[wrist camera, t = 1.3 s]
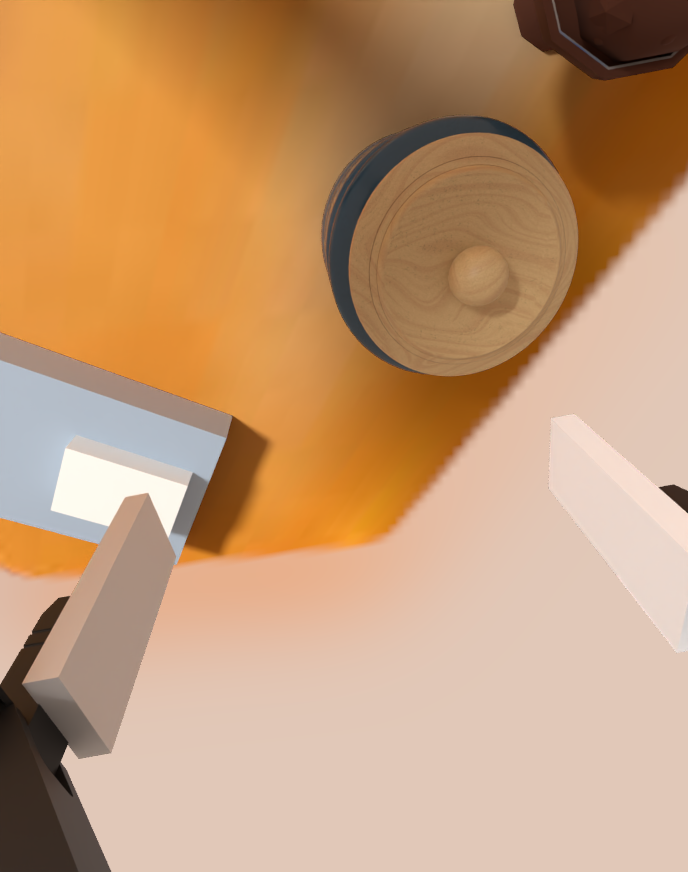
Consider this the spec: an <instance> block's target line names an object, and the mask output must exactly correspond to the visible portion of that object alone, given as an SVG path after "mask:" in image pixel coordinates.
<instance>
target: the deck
mask: <svg viewBox="0 0 688 872" xmlns="http://www.w3.org/2000/svg"><path fill="white" fill-rule="evenodd" d="M231 420H232V416H231V415H229V414H226V413H223V412H220V411H218V410H215V409H212V408H209V407H206V406H204V405H201V404H198V403H195V402H192V401H190V400H187V399H184V398H181V397H178V396H176V395H173V394H170V393H167V392H165V391H162V390H159V389H156V388H153V387H151V386H148V385H145V384H142V383H139V382H137V381H134V380H131V379H128V378H125V377H123V376H120V375H117V374H114V373H112V372H109V371H106V370H103V369H100V368H98V367H95V366H92V365H89V364H86V363H84V362H81V361H78V360H75V359H72V358H70V357H67V356H64V355H61V354H59V353H56V352H53V351H50V350H47V349H45V348H42V347H39V346H36V345H33V344H31V343H28V342H25V341H22V340H19V339H17V338H14V337H11V336H8V335H5V334H3V333H0V518H3V519H7V520H11V521H15V522H18V523H22V524H26V525H29V526H33V527H37V528H41V529H44V530H48V531H52V532H56V533H59V534H63V535H67V536H70V537H74V538H78V539H82V540H85V541H89V542H93V543H97V544H99V543H100V542H101V540H102V538H103V536H104V534H105V533H106V531H107V529H108V527H109V526H105V525H102V524H98V523H95V522H91V521H87V520H84V519H80V518H77V517H73V516H69V515H66V514H62V513H59V512H55V511H52V510H51V506H52V502H53V498H54V494H55V489H56V485H57V481H58V477H59V472H60V468H61V464H62V460H63V456H64V451H65V448H66V446H67V445H68V444H69V443H70V442H71V441H72V439H73V438H74V437H75V436H76V435H78V436H81V437H84V438H88V439H91V440H94V441H97V442H100V443H103V444H106V445H109V446H112V447H116V448H119V449H122V450H125V451H128V452H131V453H134V454H137V455H141V456H144V457H147V458H150V459H153V460H156V461H159V462H162V463H166V464H169V465H172V466H175V467H178V468H181V469H184V470H187V471H191V472H193V473H192V476H191V478H190V481H189V484H188V487H187V490H186V492H185V495H184V498H183V500H182V503H181V506H180V508H179V511H178V514H177V516H176V519H175V522H174V524H173V527H172V530H171V532H170V535H169V538H168V539H169V541H170V543H171V546H172V548H173V550H174V553H175V555H176V559H175V562H174V564H175V565H177V562H178V560H179V557H180V555H181V552H182V549H183V547H184V544H185V542H186V539H187V537H188V534H189V532H190V529H191V527H192V524H193V522H194V519H195V517H196V514H197V512H198V509H199V507H200V504H201V501H202V499H203V496H204V494H205V491H206V489H207V486H208V484H209V481H210V479H211V476H212V474H213V471H214V469H215V466H216V464H217V461H218V459H219V456H220V454H221V451H222V448H223V446H224V443H225V441H226V438H227V435H228V431H229V427H230V424H231Z"/></svg>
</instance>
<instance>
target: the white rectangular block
mask: <svg viewBox="0 0 688 872" xmlns="http://www.w3.org/2000/svg"><path fill="white" fill-rule="evenodd" d="M192 473H193V472H191V471H187V470H184V469H181V468H178V467H175V466H172V465H169V464H166V463H162V462H159V461H156V460H153V459H150V458H147V457H144V456H141V455H137V454H134V453H131V452H128V451H125V450H122V449H119V448H116V447H112V446H109V445H106V444H103V443H100V442H97V441H94V440H91V439H88V438H84V437H81V436H78V435H76V436H75V437H74V438H73V439H72V441H71V442H70V443H69V444H68V445H67V446H66V448H65V451H64V456H63V460H62V464H61V468H60V472H59V477H58V481H57V485H56V489H55V494H54V498H53V502H52V506H51V510H52V511H55V512H59V513H62V514H66V515H69V516H73V517H77V518H80V519H84V520H87V521H91V522H95V523H98V524H102V525H105V526H109V525H110V524H111V522H112V520H113V518H114V516H115V514H116V513H117V511H118V509H119V507H120V505H121V504H122V502H123V500H124V498H125V497H128V496H133V495H139V494H144V493H149V496H150V498H151V500H152V502H153V505H154V507H155V509H156V511H157V514H158V516H159V518H160V521H161V523H162V525H163V527H164V530H165V532H166V534H167V537H168V538H169V535H170V532H171V530H172V527H173V524H174V522H175V519H176V516H177V514H178V511H179V508H180V506H181V503H182V500H183V498H184V495H185V492H186V490H187V487H188V484H189V481H190V478H191V476H192Z"/></svg>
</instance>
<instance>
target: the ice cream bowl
mask: <svg viewBox="0 0 688 872" xmlns="http://www.w3.org/2000/svg"><path fill="white" fill-rule="evenodd" d="M513 5H514V9H515V13H516V17H517V20H518V24H519V28H520V32H521V36H522V37H524V38H525V39H526V40H528V41H529V42H530V43H532V44H533V45H535V46H536V47H537V48H539V49H540V50H541V51H548V50H555V51H556V52H557V53H559V54H560V55H561V56H563V57H564V58H565V59H567V60H568V61H569V62H571V63H572V64H574V65H575V66H576V67H578V68H579V69H580V70H582V71H583V72H584V73H586V74H587V75H588V76H590V77H591V78H593V79H599V80H610V79H615V78H621V77H626V76H631V75H637V74H642V73H647V72H652V71H658V70H663V69H668V68H673V67H674V66H675V65H676V64H677V63H678V62H679V61H680V60H681V59H682V58H683V57H684V56H685V55H686V54H687V53H688V0H514V4H513Z"/></svg>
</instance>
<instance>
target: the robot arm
mask: <svg viewBox="0 0 688 872" xmlns="http://www.w3.org/2000/svg"><path fill="white" fill-rule="evenodd" d="M550 425H551V427H550V457H549V487H548V488H549V490H550V491H551V493H552V494H553V495H554V496H555V498H556V499H557V500H558V501H559V503H560V504H561V505H562V507H563V508H564V509H565V510H566V512H567V513H568V514H569V516H570V517H571V518H572V520H573V521H574V522H575V523H576V525H577V526H578V527H579V528H580V530H581V531H582V532H583V533H584V535H585V536H586V537H587V539H588V540H589V541H590V542H591V544H592V545H593V546H594V548H595V549H596V550H597V551H598V553H599V554H600V555H601V557H602V558H603V559H604V560H605V562H606V563H607V564H608V566H609V567H610V568H611V569H612V571H613V572H614V573H615V575H616V576H617V577H618V578H619V580H620V581H621V582H622V583H623V585H624V586H625V587H626V589H627V590H628V591H629V593H630V594H631V595H632V596H633V598H634V599H635V600H636V601H637V603H638V604H639V605H640V607H641V608H642V609H643V610H644V612H645V613H646V614H647V615H648V617H649V618H650V619H651V621H652V622H653V623H654V624H655V626H656V627H657V628H658V630H659V631H660V632H661V633H662V635H663V636H664V637H665V639H666V640H667V641H668V642H669V643H670V645H671V646H672V648H673V649H674V650H675V651H676V653H679V652H685V651H688V491H687V490H685V489H682V488H680V487H678V486H676V485H668V486H663V487H657V486H656V485H655V484H653V482H651V481H650V480H649V479H648V478H647V477H646V476H645V475H644V474H642V473H641V472H640V471H639V470H638V469H637V468H636V467H634V466H633V465H632V464H631V463H630V462H629V461H627V459H625V458H624V457H623V456H622V455H621V454H620V453H619V452H617V451H616V450H615V449H614V448H613V447H612V446H611V445H609V444H608V443H607V442H606V441H605V440H604V439H603V438H601V437H600V436H599V435H598V434H597V433H596V432H594V430H592V429H591V428H590V427H589V426H588V425H587V424H586V423H585V422H583V421H582V420H581V419H580V418H579V417H578V416H577V415H575V414H570V415H565V416H559V417H554V418H551V424H550ZM175 559H176V555H175V553H174V550H173V548H172V546H171V543H170V541H169V539H168V537H167V534H166V532H165V530H164V527H163V525H162V523H161V521H160V518H159V516H158V514H157V511H156V509H155V507H154V505H153V502H152V500H151V498H150V496H149V493H144V494H139V495H133V496H128V497H125V498H124V500H123V502H122V504H121V505H120V507H119V509H118V511H117V513H116V514H115V516H114V518H113V520H112V522H111V524H110V525H109V527H108V529H107V531H106V533H105V534H104V536H103V538H102V540H101V542H100V543H99V545H98V547H97V549H96V551H95V552H94V554H93V556H92V558H91V560H90V561H89V563H88V565H87V567H86V569H85V571H84V572H83V574H82V576H81V578H80V580H79V581H78V583H77V585H76V587H75V589H74V590H73V592H72V594H71V596H67V597H61V598H58V599H57V600H56V601H55V602H54V603H53V604H52V605H51V606H50V607H49V608H48V609H47V610H46V611H45V612H44V613H43V614H42V615H41V617H40V619H39V620H38V622H37V624H36V625H35V627H34V629H33V631H32V635H30V636H29V637H28V639H27V641H26V642H25V644H24V649H21V651H20V652H19V654H18V656H17V657H16V659H15V661H14V663H13V664H12V666H11V668H10V669H9V671H8V673H7V674H6V676H5V678H4V679H3V681H2V683H1V684H0V872H111V870H110V868H109V866H108V864H107V861H106V859H105V856H104V854H103V852H102V850H101V847H100V845H99V843H98V841H97V838H96V836H95V834H94V831H93V829H92V827H91V825H90V822H89V820H88V818H87V815H86V813H85V811H84V809H83V807H82V804H81V802H80V799H79V797H78V795H77V793H76V791H75V788H74V786H73V784H72V781H71V779H70V777H69V775H68V772H67V770H66V768H65V767H64V766H63V765H62V763H61V759H62V757H63V755H64V752H65V750H66V747H67V745H69V746H70V748H71V749H72V751H73V752H74V753H75V755H76V756H77V757H78V758H79V759H81V758H86V757H92V756H98V755H103V754H109V753H111V752H112V749H113V746H114V743H115V740H116V737H117V734H118V731H119V728H120V725H121V722H122V719H123V716H124V713H125V710H126V707H127V703H128V701H129V698H130V695H131V692H132V689H133V686H134V683H135V679H136V677H137V674H138V671H139V668H140V665H141V662H142V659H143V656H144V653H145V649H146V647H147V644H148V640H149V638H150V635H151V632H152V629H153V625H154V622H155V620H156V617H157V613H158V611H159V607H160V605H161V601H162V599H163V595H164V592H165V590H166V587H167V583H168V580H169V578H170V575H171V571H172V568H173V565H174V562H175Z"/></svg>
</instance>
